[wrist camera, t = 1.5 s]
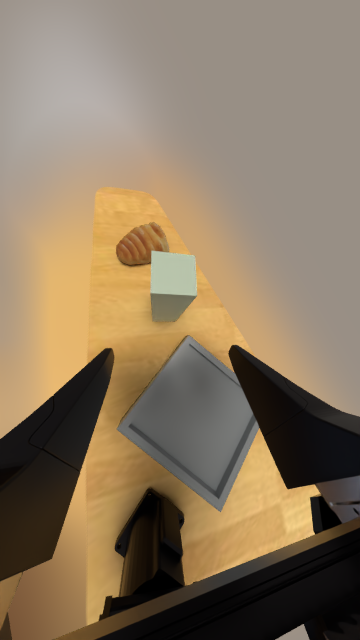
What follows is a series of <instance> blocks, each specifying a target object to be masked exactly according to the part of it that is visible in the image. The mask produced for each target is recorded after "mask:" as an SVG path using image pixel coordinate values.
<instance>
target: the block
mask: <svg viewBox="0 0 360 640" xmlns="http://www.w3.org/2000/svg"><path fill="white" fill-rule="evenodd" d="M196 297H197V283H196V264H195V256H194V255H185V254H176V253H168V252H159V251H152V253H151V306H152V320H153V321H156V322H175V321H176V320H177V319H178V318H179V317H180V315H181V314H182V313H183V312H184V311H185V309H186V308H187V307H188V306H189V305H190V304H191V302H192V301H193V300H194V299H195V298H196Z"/></svg>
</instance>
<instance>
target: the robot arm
mask: <svg viewBox="0 0 360 640" xmlns="http://www.w3.org/2000/svg"><path fill="white" fill-rule="evenodd" d="M229 357H230V360H231V363H232V366H233V369H234V372H235V374H236V377H237V379H238V381H239V383H240V385H241V388H242V390H243V392H244V394H245V397H246V399H247V401H248V403H249V405H250V408H251V410H252V412H253V414H254V417H255V419H256V421H257V423H258V425H259V428H260V430H261V432H262V434H263V436H264V439H265V441H266V443H267V446H268V448H269V450H270V452H271V454H272V457H273V459H274V461H275V463H276V466H277V468H278V470H279V472H280V475H281V477H282V479H283V481H284V483H285V485H286V487H287V489H292V488H297V487H302V486H308V485H313V484H315V485H316V487H317V489H318V490H319V492H320V493H321V494H319V495H316V496H313V497H310V501H311V511H312V521H313V530H314V533H315V535H313V536H311V537H308V538H306V539H303V540H301V541H298V542H296V543H293V544H291V545H288V546H286V547H283V548H281V549H278V550H276V551H273V552H271V553H268V554H266V555H263V556H261V557H258V558H256V559H253V560H251V561H248V562H246V563H243V564H241V565H238V566H236V567H233V568H231V569H228V570H226V571H223V572H221V573H218V574H216V575H213V576H211V577H208V578H206V579H203V580H201V581H197V582H193V584H191V585H186V586H185V583H184V575H183V567H182V559H181V558H182V556H183V549H182V542H181V534H180V529H181V528H182V526H183V524H184V515H183V513H182V512H181V511H179V510H178V509H177V508H176V507H175V506H174V505H173V504H172V503H170V502H169V501H168V500H166V499H165V498H164V497H162V496H160V495H159V494H158V493H157V492H155V491H154V490H153V489H148V490H147V491H146V493H145V495H144V496H143V498H142V500H141V501H140V503H139V504H138V506H137V508H136V509H135V511H134V513H133V514H132V516H131V517H130V519H129V521H128V522H127V524H126V525H125V527H124V529H123V530H122V532H121V534H120V535H119V537H118V538H117V540H116V544H115V551H116V552H118V553H119V554H120V555H121V556H123V557H124V563H123V570H122V577H121V585H120V592H119V597H115V598H112V596H107V597H106V600H105V605H104V610H103V614H102V615H100V617H99V621H98V622H96V623H93V624H91V625H88V626H86V627H83V628H81V629H78V630H76V631H73V632H71V633H69V634H66V635H63V636H61V637H58V638H56V639H53V640H275V639H277V638H279V637H280V636H282V635H284V634H286V633H288V632H290V631H291V630H293V629H295V628H297V627H298V626H300V625H302V624H304V626H305V629H306V631H307V634H308V637H309V639H310V640H360V417H359V416H355V415H351V414H348V413H345V412H342V411H340V410H338V409H336V408H334V407H332V406H330V405H328V404H327V403H325V402H323V401H322V400H320V399H318V398H317V397H315V396H313V395H312V394H310V393H309V392H307V391H305V390H304V389H302V388H301V387H299V386H297V385H296V384H294V383H293V382H291V381H290V380H288V379H287V378H285V377H284V376H282V375H281V374H279V373H278V372H276V371H275V370H274V369H272V368H271V367H269V366H268V365H266V364H265V363H263V362H262V361H260V360H259V359H257V358H256V357H254V356H253V355H251V354H250V353H248V352H247V351H245V350H244V349H242V348H241V347H239V346H238V345H232V346H231V348H230V350H229ZM113 363H114V353H113V349H112V348H106V349H104V350H103V351H102V352H101V353H100V354H98V355H97V356H96V357H95V358H94V359H93V360H92V361H91V362H90V363H88V364H87V365H86V366H85V367H84V368H83V369H82V370H81V371H80V372H78V373H77V374H76V375H75V376H74V377H73V378H72V379H71V380H69V381H68V382H67V383H66V384H65V385H64V386H63V387H62V388H61V389H59V390H58V391H57V392H56V393H55V394H54V396H52V397H50V398H49V399H48V400H47V401H46V402H45V403H44V404H43V405H41V406H40V407H39V408H38V409H37V410H36V411H34V412H33V413H32V414H31V415H30V416H29V417H28V418H26V419H25V420H24V421H22V422H21V423H20V424H19V425H18V426H16V427H15V428H14V429H12V430H11V431H10V432H9V433H7V434H6V435H5V436H4V437H3V438H1V439H0V640H12V637H11V630H10V623H9V617H8V609H9V607H10V604H11V602H12V599H13V597H14V594H15V592H16V589H17V587H18V584H19V581H20V579H21V576H22V574H23V571H25V570H28V569H30V568H32V567H34V566H37V565H39V564H41V563H44V562H46V561H48V560H50V559H52V557H53V554H54V551H55V548H56V545H57V542H58V539H59V536H60V533H61V530H62V527H63V524H64V521H65V517H66V514H67V511H68V508H69V505H70V502H71V499H72V496H73V493H74V490H75V487H76V484H77V480H78V477H79V475H80V471H81V468H82V465H83V462H84V459H85V456H86V453H87V450H88V447H89V444H90V441H91V438H92V434H93V431H94V428H95V425H96V422H97V419H98V416H99V413H100V410H101V407H102V404H103V401H104V398H105V395H106V392H107V389H108V385H109V382H110V378H111V373H112V368H113ZM149 494H151V495H149Z"/></svg>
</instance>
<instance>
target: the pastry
mask: <svg viewBox="0 0 360 640" xmlns="http://www.w3.org/2000/svg"><path fill="white" fill-rule="evenodd" d="M152 251H159V252H168V253H169V246H168V242H167V240H166V236H165V234H164V232H163V230H162V229H161V227H160V226H159V225H157V224H156V223H154V222H152V223H149V224H147V225H141V226H140V227H135V228H134V229H133V230H131V231H130V232H129V233H128V234H127V235H126V236H125V237H124V238H123V239H122V240H121V241H120V242H119V244H118V245H117V247H116V254H117V257H118V259H119V260H120V261H122V262H123V263H125V264H128V265H134V264H148V263H149V262H151V253H152Z"/></svg>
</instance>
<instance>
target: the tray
mask: <svg viewBox="0 0 360 640" xmlns="http://www.w3.org/2000/svg"><path fill="white" fill-rule="evenodd" d="M258 429H259V425H258V423H257V421H256V419H255V417H254V414H253V412H252V410H251V408H250V405H249V403H248V401H247V399H246V397H245V394H244V392H243V390H242V388H241V385H240V383H239V381H238V379H237V377H236V374H235V373H234V372H232V371H231V370H230V369H229V368H228V367H226V366H225V365H224V364H223V363H222V362H220V361H219V360H218V359H217V358H216V357H214V356H213V355H212V354H211V353H210V352H208V351H207V350H206V349H205V348H204V347H202V346H201V345H200V344H199V343H198V342H196V341H195V340H194V339H193V338H192V337H190V336H189V335H188V336H186V337H185V338H184V339H183V341H182V342H181V343H180V345H179V346H178V347H177V348H176V350H175V351H174V352H173V354H172V355H171V356H170V357H169V359H168V360H167V361H166V363H165V364H164V365H163V367H162V368H161V369H160V370H159V372H158V373H157V374H156V376H155V377H154V378H153V380H152V381H151V382H150V383H149V385H148V386H147V387H146V389H145V390H144V391H143V392H142V394H141V395H140V396H139V398H138V399H137V400H136V402H135V403H134V404H133V405H132V407H131V408H130V409H129V411H128V412H127V413H126V414H125V416H124V417H123V418H122V420H121V421H120V423H119V426H118V428H117V430H118V431H119V432H121V433H122V434H123V435H124V436H126V437H127V438H128V439H129V440H131V441H132V442H133V443H134V444H136V445H137V446H138V447H140V448H141V449H142V450H143V451H145V452H146V453H147V454H148V455H150V456H151V457H152V458H153V459H155V460H156V461H157V462H158V463H160V464H161V465H162V466H163V467H165V468H166V469H167V470H168V471H170V472H171V473H172V474H173V475H175V476H176V477H177V478H178V479H180V480H181V481H182V482H183V483H185V484H186V485H187V486H188V487H190V488H191V489H192V490H193V491H195V492H196V493H197V494H198V495H200V496H201V497H202V498H203V499H205V500H206V501H207V502H208V503H210V504H211V505H212V506H213V507H215V508H216V509H217V510H218V511H220V512H221V510H222V508H223V506H224V504H225V502H226V499H227V497H228V495H229V493H230V491H231V488H232V486H233V484H234V482H235V480H236V477H237V475H238V473H239V471H240V469H241V466H242V464H243V462H244V460H245V458H246V455H247V453H248V451H249V449H250V447H251V444H252V442H253V440H254V438H255V436H256V433H257V431H258Z"/></svg>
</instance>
